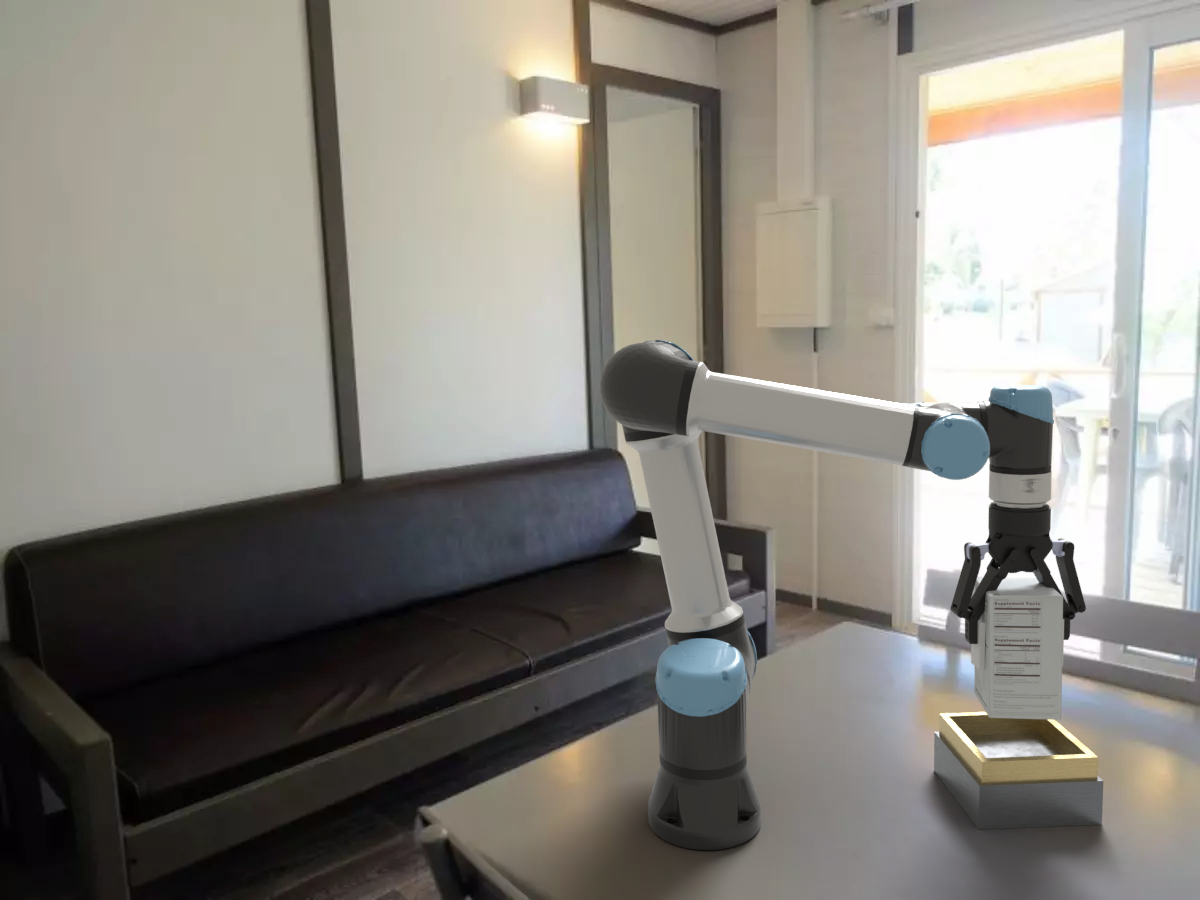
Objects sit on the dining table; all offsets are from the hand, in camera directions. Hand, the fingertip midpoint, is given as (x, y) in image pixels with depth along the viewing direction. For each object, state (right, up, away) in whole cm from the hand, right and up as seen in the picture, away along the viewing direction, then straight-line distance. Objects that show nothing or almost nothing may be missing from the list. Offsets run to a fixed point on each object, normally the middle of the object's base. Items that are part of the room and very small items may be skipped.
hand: (1016, 664), depth 127 cm
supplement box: (0, -6, +1) cm, 6 cm away
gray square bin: (+1, -19, +3) cm, 19 cm away
